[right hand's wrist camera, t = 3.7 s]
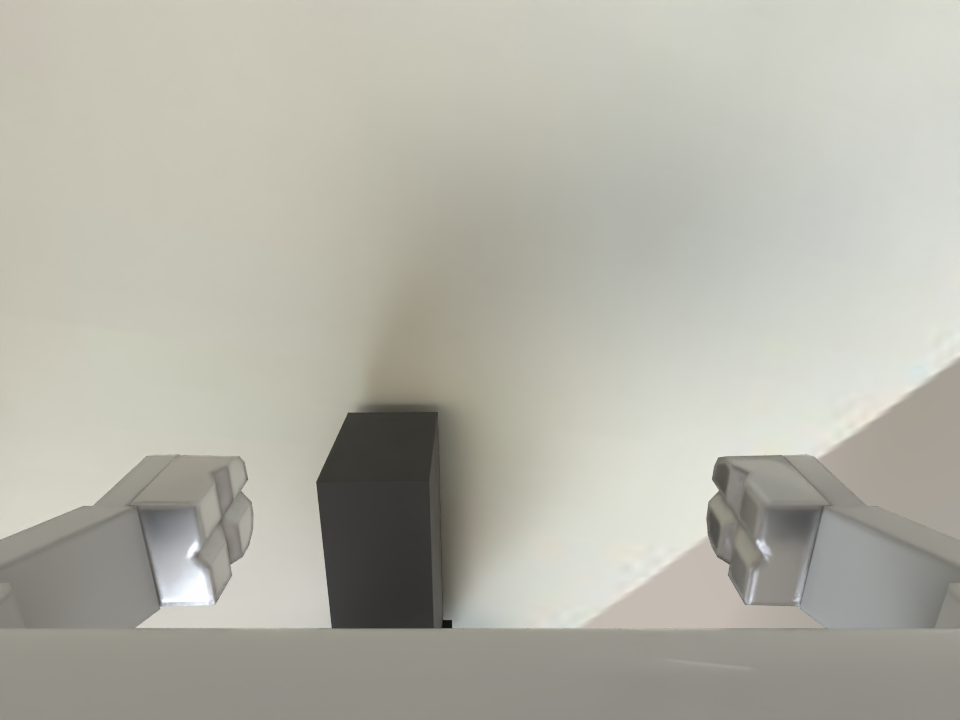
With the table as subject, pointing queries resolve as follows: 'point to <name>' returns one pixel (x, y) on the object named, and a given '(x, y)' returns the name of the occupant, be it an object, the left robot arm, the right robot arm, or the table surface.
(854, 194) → the table surface
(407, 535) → the box
